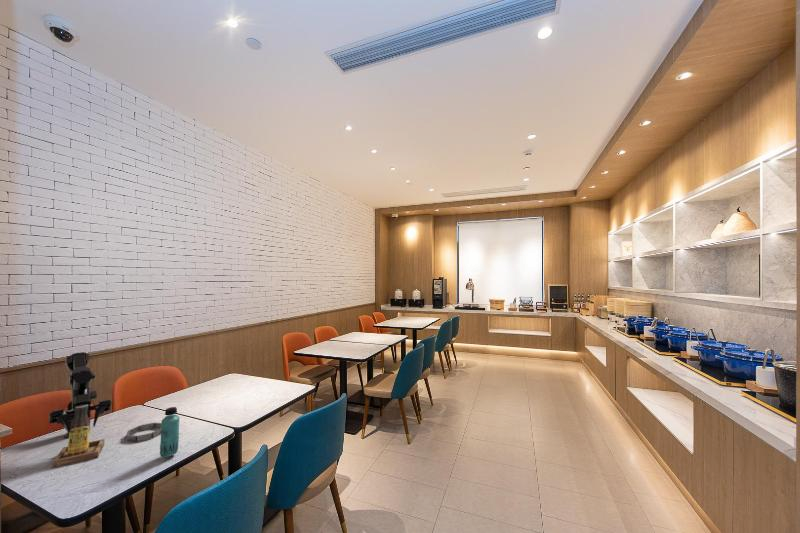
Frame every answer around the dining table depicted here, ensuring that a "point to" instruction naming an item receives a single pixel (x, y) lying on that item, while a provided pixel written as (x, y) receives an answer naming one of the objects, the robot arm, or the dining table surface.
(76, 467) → the dining table surface
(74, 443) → the sauce bottle
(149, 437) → the metal collar
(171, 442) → the beverage bottle
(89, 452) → the walnut tray
